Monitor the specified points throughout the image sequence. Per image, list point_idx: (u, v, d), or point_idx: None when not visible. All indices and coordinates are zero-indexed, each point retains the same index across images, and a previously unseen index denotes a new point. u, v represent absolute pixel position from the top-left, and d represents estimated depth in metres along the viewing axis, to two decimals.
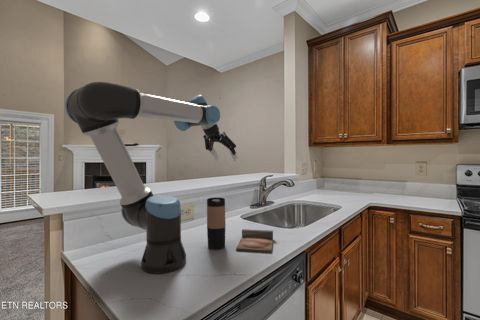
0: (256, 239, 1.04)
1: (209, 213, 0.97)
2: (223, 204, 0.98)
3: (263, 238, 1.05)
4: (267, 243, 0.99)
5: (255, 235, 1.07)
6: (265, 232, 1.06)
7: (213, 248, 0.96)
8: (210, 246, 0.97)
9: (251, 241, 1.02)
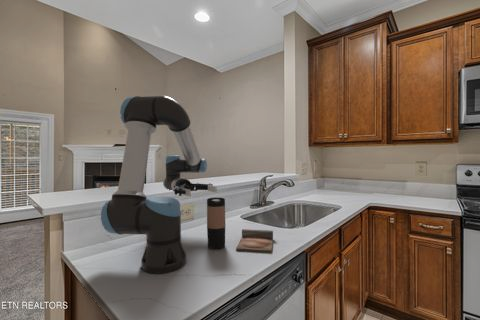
0: (256, 239, 1.04)
1: (209, 213, 0.97)
2: (223, 204, 0.98)
3: (263, 238, 1.05)
4: (267, 243, 0.99)
5: (255, 235, 1.07)
6: (265, 232, 1.06)
7: (213, 248, 0.96)
8: (210, 246, 0.97)
9: (251, 241, 1.02)
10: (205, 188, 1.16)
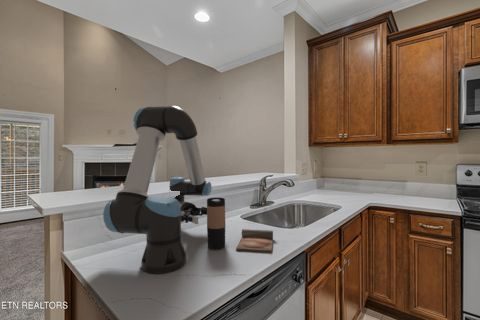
0: (256, 239, 1.04)
1: (209, 213, 0.97)
2: (223, 204, 0.98)
3: (263, 238, 1.05)
4: (267, 243, 0.99)
5: (255, 235, 1.07)
6: (265, 232, 1.06)
7: (213, 248, 0.96)
8: (210, 246, 0.97)
9: (251, 241, 1.02)
10: None
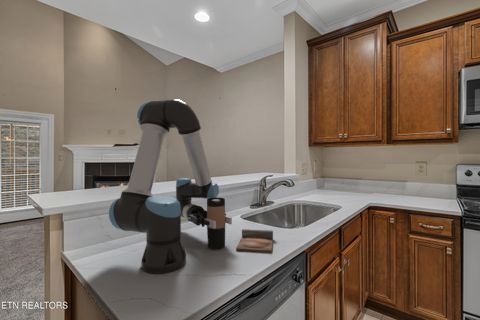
0: (256, 239, 1.04)
1: (209, 213, 0.97)
2: (223, 204, 0.98)
3: (263, 238, 1.05)
4: (267, 243, 0.99)
5: (255, 235, 1.07)
6: (265, 232, 1.06)
7: (213, 248, 0.96)
8: (210, 246, 0.97)
9: (251, 241, 1.02)
10: None
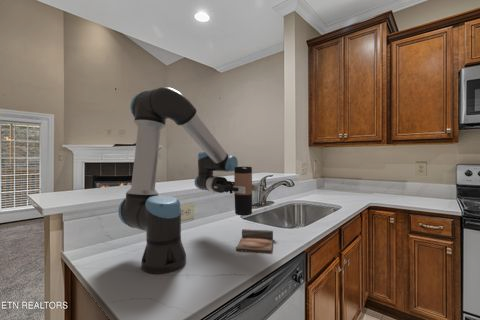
0: (256, 239, 1.04)
1: (237, 180, 0.99)
2: (251, 171, 1.00)
3: (263, 238, 1.05)
4: (267, 243, 0.99)
5: (255, 235, 1.07)
6: (265, 232, 1.06)
7: (241, 214, 0.99)
8: (238, 213, 0.99)
9: (251, 241, 1.02)
10: None
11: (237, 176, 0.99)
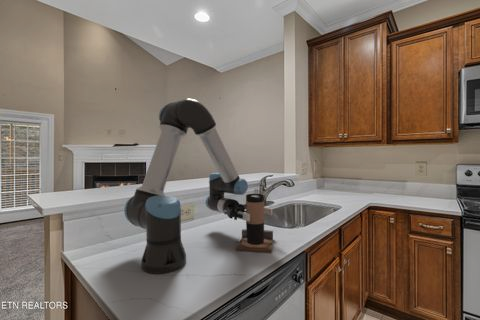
0: None
1: (249, 209, 0.98)
2: (262, 200, 0.99)
3: None
4: (267, 243, 0.99)
5: None
6: (265, 232, 1.06)
7: (253, 243, 0.98)
8: (250, 242, 0.99)
9: None
10: None
11: (249, 205, 0.98)
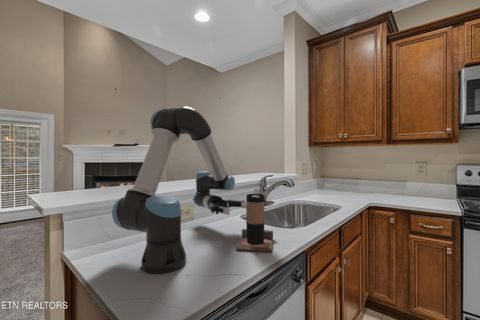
0: None
1: (249, 209, 0.98)
2: (263, 200, 0.99)
3: None
4: (267, 243, 0.99)
5: None
6: (265, 232, 1.06)
7: (253, 243, 0.98)
8: (250, 242, 0.99)
9: None
10: (238, 205, 1.18)
11: (249, 205, 0.98)
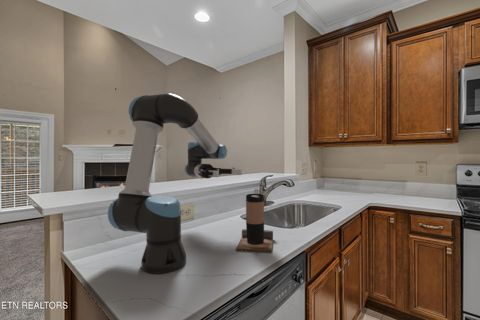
0: None
1: (249, 209, 0.98)
2: (262, 200, 0.99)
3: None
4: (267, 243, 0.99)
5: None
6: (265, 232, 1.06)
7: (253, 243, 0.98)
8: (250, 242, 0.99)
9: None
10: (229, 172, 1.19)
11: (249, 205, 0.98)
